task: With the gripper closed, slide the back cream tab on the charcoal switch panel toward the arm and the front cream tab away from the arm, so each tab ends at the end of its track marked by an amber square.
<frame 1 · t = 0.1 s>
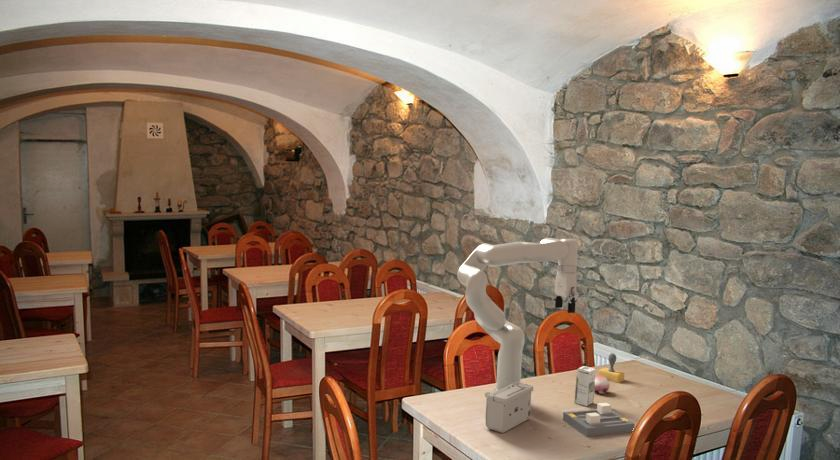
hand: (564, 310, 270), 37 cm above the table, tool pointing down, fingers open, 9 cm apart
apple: (599, 392, 281), on the table
switch panel: (597, 425, 243), on the table
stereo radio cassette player: (509, 424, 242), on the table
front tab: (593, 418, 238), point 5 cm above the table, slide at 0.0 cm
rubber stamp: (611, 379, 300), on the table
back tab: (604, 408, 248), point 5 cm above the table, slide at 0.0 cm
syrup box: (584, 403, 267), on the table
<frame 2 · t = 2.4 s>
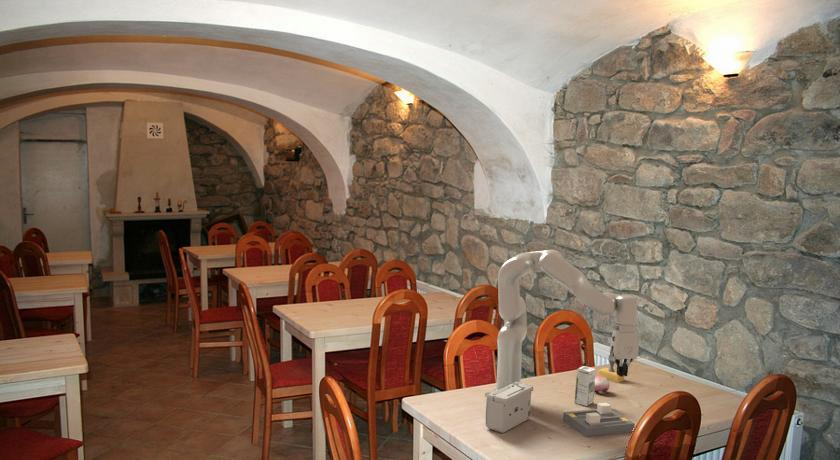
hand: (621, 375, 249), 17 cm above the table, tool pointing down, fingers closed
nothing on the table moved.
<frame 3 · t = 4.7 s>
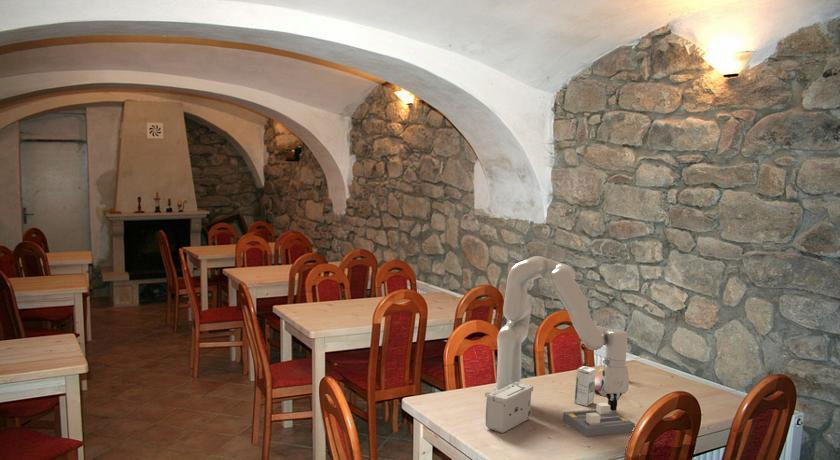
hand: (612, 409, 250), 4 cm above the table, tool pointing down, fingers closed
back tab: (603, 408, 248), point 5 cm above the table, slide at 0.3 cm, touching gripper
everything else where it was.
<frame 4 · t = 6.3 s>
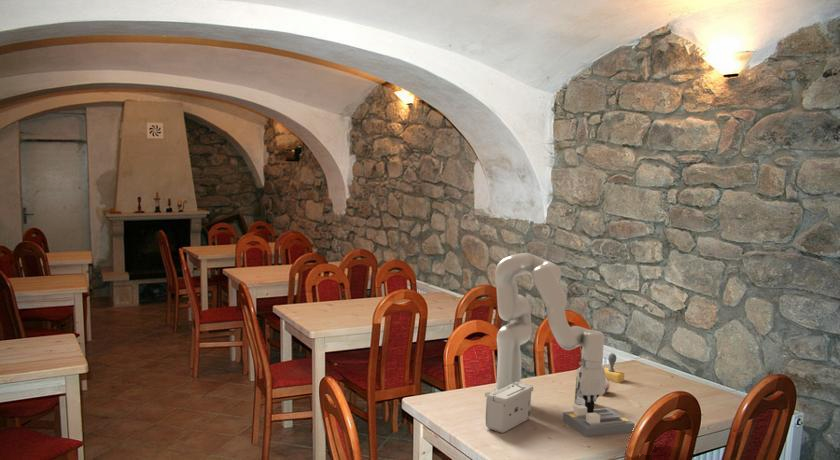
hand: (589, 411, 246), 4 cm above the table, tool pointing down, fingers closed
back tab: (580, 410, 245), point 5 cm above the table, slide at 10.3 cm, touching gripper
everything else where it was.
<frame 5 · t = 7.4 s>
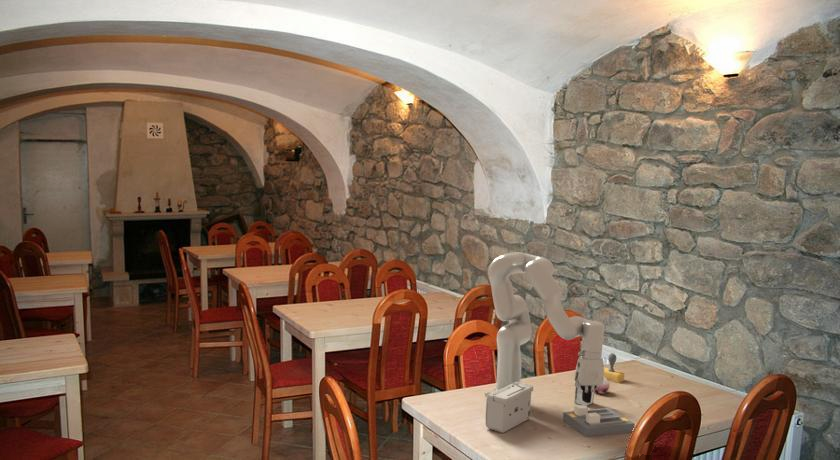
hand: (586, 401, 246), 8 cm above the table, tool pointing down, fingers closed
back tab: (580, 410, 245), point 5 cm above the table, slide at 10.1 cm
everything else where it was.
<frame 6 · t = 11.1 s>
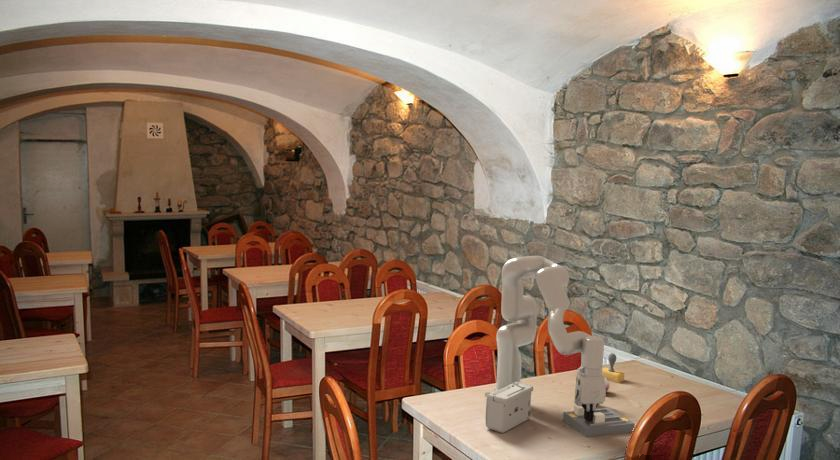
hand: (588, 420, 237), 4 cm above the table, tool pointing down, fingers closed
front tab: (597, 418, 238), point 5 cm above the table, slide at 2.0 cm, touching gripper
everything else where it was.
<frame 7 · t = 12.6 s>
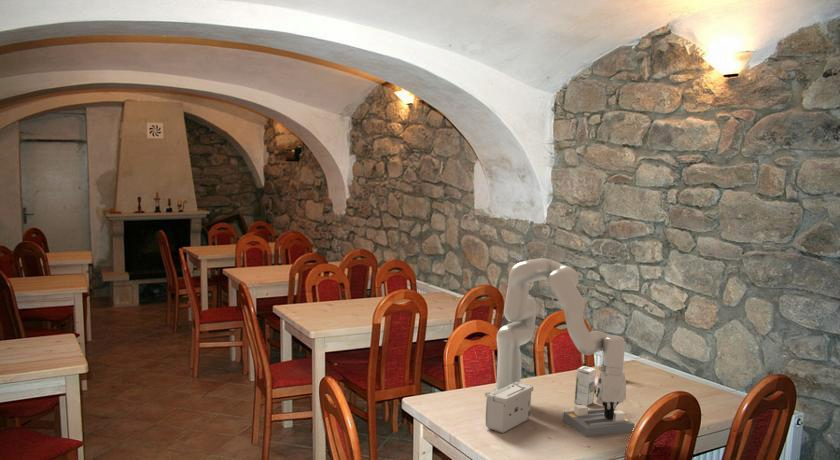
hand: (608, 418, 240), 4 cm above the table, tool pointing down, fingers closed
front tab: (617, 416, 241), point 5 cm above the table, slide at 10.5 cm, touching gripper
everything else where it was.
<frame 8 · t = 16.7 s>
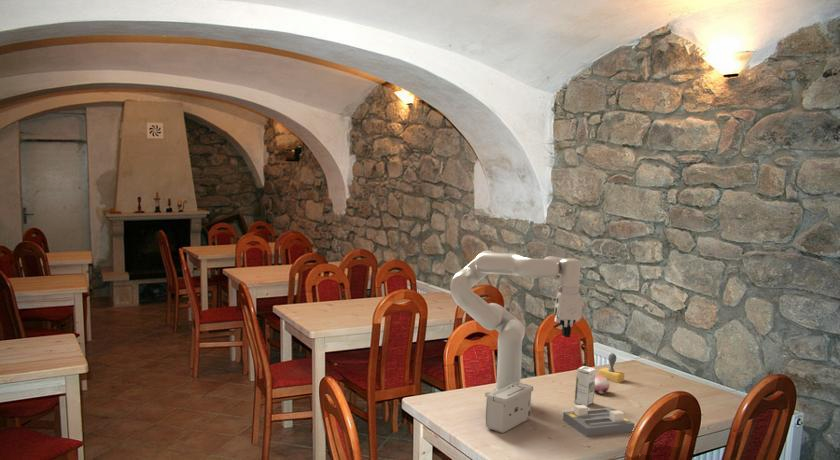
hand: (566, 336, 257), 29 cm above the table, tool pointing down, fingers closed
front tab: (616, 416, 241), point 5 cm above the table, slide at 10.1 cm
everything else where it was.
at the end: back tab slide at 10.1 cm; front tab slide at 10.1 cm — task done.
